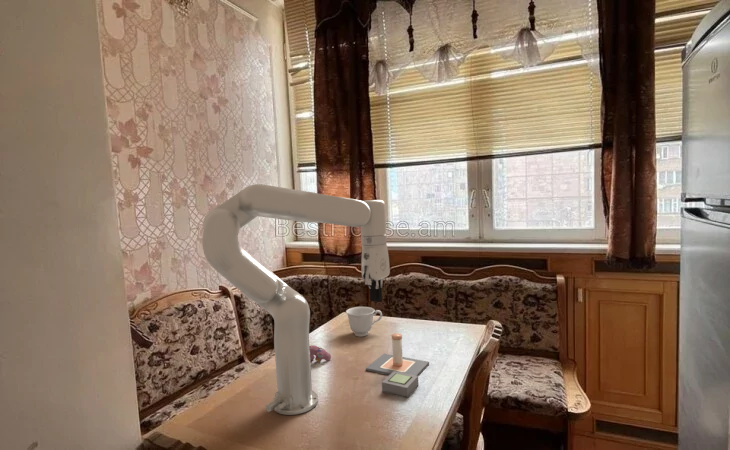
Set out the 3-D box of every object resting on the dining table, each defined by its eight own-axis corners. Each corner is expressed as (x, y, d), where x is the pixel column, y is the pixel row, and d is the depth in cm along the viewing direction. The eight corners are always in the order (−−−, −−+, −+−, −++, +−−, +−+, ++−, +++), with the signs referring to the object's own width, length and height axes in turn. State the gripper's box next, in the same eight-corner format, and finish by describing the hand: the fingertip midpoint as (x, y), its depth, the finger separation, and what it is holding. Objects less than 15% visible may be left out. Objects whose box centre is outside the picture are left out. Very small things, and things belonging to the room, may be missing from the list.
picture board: (413, 380, 121) (413, 377, 121) (365, 370, 129) (365, 367, 129) (429, 364, 132) (429, 361, 132) (384, 355, 141) (384, 353, 140)
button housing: (407, 398, 110) (407, 387, 110) (382, 392, 114) (381, 382, 114) (418, 385, 117) (418, 376, 117) (394, 380, 121) (393, 371, 121)
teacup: (383, 338, 157) (382, 314, 157) (345, 339, 158) (344, 315, 157) (382, 328, 169) (381, 305, 169) (347, 329, 170) (346, 306, 169)
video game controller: (303, 363, 141) (297, 349, 137) (309, 353, 144) (303, 340, 141) (327, 367, 136) (321, 353, 133) (333, 357, 140) (327, 343, 136)
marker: (400, 367, 128) (399, 337, 127) (390, 365, 130) (389, 336, 129) (404, 363, 131) (403, 334, 130) (395, 361, 133) (394, 332, 132)
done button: (404, 390, 113) (404, 383, 112) (389, 386, 115) (389, 380, 115) (411, 383, 117) (410, 376, 117) (396, 380, 119) (396, 373, 119)
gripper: (372, 244, 110) (375, 308, 112) (395, 238, 123) (398, 296, 124) (350, 243, 114) (352, 306, 115) (374, 238, 127) (377, 294, 128)
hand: (376, 300), depth 120 cm, fingers closed
